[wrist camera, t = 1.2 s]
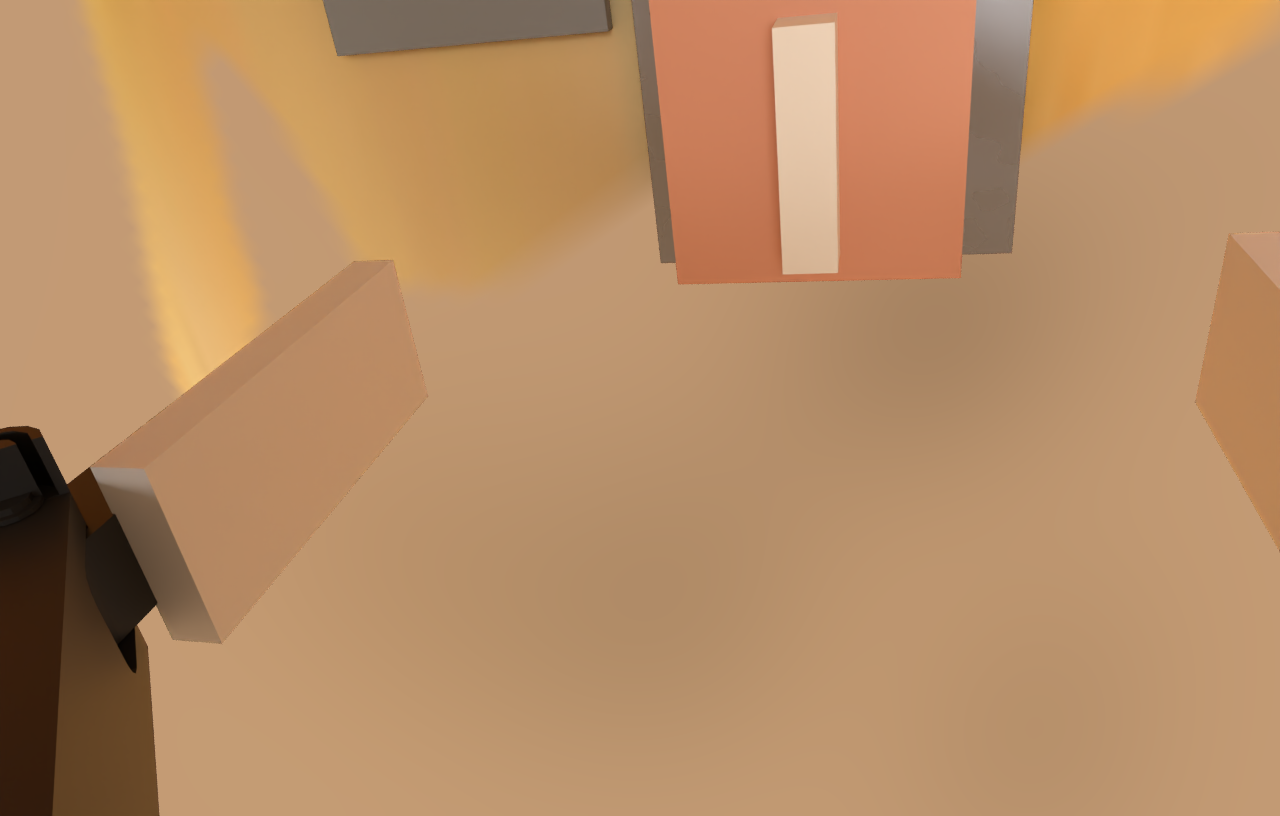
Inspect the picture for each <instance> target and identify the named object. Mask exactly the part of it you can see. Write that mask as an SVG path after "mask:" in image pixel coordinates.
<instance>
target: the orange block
mask: <svg viewBox="0 0 1280 816" xmlns="http://www.w3.org/2000/svg"><path fill="white" fill-rule="evenodd" d="M649 9H650V18H651V28H652V38H653V47H654V57H655V66H656V76H657V86H658V95H659V105H660V115H661V124H662V134H663V143H664V153H665V163H666V172H667V182H668V192H669V201H670V211H671V220H672V230H673V240H674V249H675V259H676V269H677V278H678V284H709V283H710V284H711V283H712V284H713V283H754V282H755V283H757V282H795V281H796V282H801V281H842V280H843V281H844V280H887V279H930V278H931V279H932V278H960V277H961V263H962V245H963V228H964V210H965V193H966V175H967V158H968V140H969V123H970V105H971V88H972V70H973V53H974V35H975V18H976V0H649Z"/></svg>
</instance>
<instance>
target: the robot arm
mask: <svg viewBox="0 0 1280 816" xmlns="http://www.w3.org/2000/svg"><path fill="white" fill-rule="evenodd" d="M427 397H428V394H427V391H426V387H425V383H424V379H423V375H422V371H421V367H420V364H419V360H418V355H417V352H416V348H415V344H414V340H413V336H412V333H411V328H410V324H409V321H408V317H407V313H406V309H405V306H404V301H403V297H402V293H401V290H400V286H399V282H398V278H397V274H396V270H395V266H394V262H393V260H380V261H354V262H353V263H351V264H350V265H349V266H347V267H346V268H345V269H344V270H342V271H341V272H340V273H339V274H337V275H336V276H335V277H333V278H332V279H331V280H330V281H328V282H327V283H326V284H324V285H323V286H322V287H321V288H319V289H318V290H317V291H315V292H314V293H313V294H312V295H310V296H309V297H308V298H306V299H305V300H304V301H302V302H301V303H300V304H299V305H297V306H296V307H295V308H293V309H292V310H291V311H290V312H288V313H287V314H286V315H285V316H283V317H282V318H281V319H279V320H278V321H277V322H276V323H274V324H273V325H272V326H270V327H269V328H268V329H267V330H265V331H264V332H263V333H261V334H260V335H259V336H258V337H256V338H255V339H254V340H252V341H251V342H250V343H249V344H247V345H246V346H245V347H243V348H242V349H241V350H240V351H238V352H237V353H236V354H234V355H233V356H232V357H231V358H229V359H228V360H227V361H225V362H224V363H223V364H222V365H220V366H219V367H218V368H216V369H215V370H214V371H213V372H211V373H210V374H209V375H207V376H206V377H205V378H204V379H202V380H201V381H200V382H198V383H197V384H196V385H195V386H193V387H192V388H191V389H189V390H188V391H187V392H186V393H184V394H183V395H182V396H180V397H179V398H178V399H177V400H175V401H174V402H173V403H171V404H170V405H169V406H167V407H166V408H165V409H164V410H162V411H161V412H160V413H158V414H157V415H156V416H154V417H153V418H152V419H151V420H149V421H148V422H147V423H146V424H145V425H143V426H142V427H140V428H139V429H138V430H137V431H135V432H134V433H133V434H131V435H130V436H129V437H128V438H126V440H124V441H123V442H121V443H120V444H119V445H117V446H116V447H115V448H113V449H112V450H111V451H109V452H108V453H107V454H106V455H105V456H103V457H102V458H100V459H99V460H98V461H97V462H96V463H94V464H93V465H92V466H90V467H89V468H88V469H86V470H85V471H84V472H82V473H81V474H80V475H79V476H77V477H76V478H75V479H74V480H72V481H71V482H70V483H69V484H66V482H65V480H64V478H63V476H62V474H61V472H60V470H59V468H58V466H57V464H56V462H55V460H54V458H53V456H52V454H51V452H50V450H49V448H48V446H47V444H46V442H45V440H44V438H43V436H42V434H41V432H40V430H39V429H36V428H32V427H29V426H21V427H20V426H19V427H7V428H3V429H0V816H159V804H158V789H157V774H156V760H155V745H154V730H153V716H152V701H151V687H150V672H149V657H148V646H147V644H146V642H145V640H144V638H143V636H142V634H141V632H140V630H139V628H138V626H137V624H138V623H139V622H140V621H141V620H142V619H143V618H144V617H145V616H146V615H147V614H148V613H149V612H150V611H151V610H152V608H153V607H155V605H156V606H157V608H158V610H159V612H160V614H161V616H162V618H163V621H164V623H165V625H166V627H167V629H168V631H169V633H170V635H171V637H172V639H173V640H182V641H194V642H206V643H218V644H222V643H223V642H224V641H225V640H226V638H227V637H228V636H229V635H230V634H231V632H232V631H233V630H234V629H235V628H236V626H237V625H238V624H239V623H240V621H241V620H242V619H243V618H244V617H245V616H246V614H247V613H248V612H249V611H250V610H251V608H252V607H253V606H254V605H255V604H256V602H257V601H258V600H259V599H260V598H261V596H262V595H263V594H264V593H265V592H266V590H267V589H268V588H269V587H270V586H271V584H272V583H273V582H274V581H275V580H276V578H277V577H278V576H279V575H280V574H281V572H282V571H283V570H284V569H285V568H286V566H287V565H288V564H289V563H290V562H291V560H292V559H293V558H294V557H295V556H296V554H297V553H298V552H299V551H300V550H301V548H302V547H303V546H304V545H305V544H306V542H307V541H308V540H309V539H310V538H311V536H312V535H313V534H314V533H315V532H316V530H317V529H318V528H319V527H320V526H321V524H322V523H323V522H324V521H325V520H326V518H327V517H328V516H329V515H330V513H331V512H332V511H333V510H334V509H335V508H336V506H337V505H338V504H339V502H340V501H341V500H342V499H343V498H344V497H345V495H346V494H347V493H348V492H349V491H350V489H351V488H352V487H353V486H354V484H356V482H357V481H358V480H359V479H360V477H361V476H362V475H363V474H364V473H365V471H366V470H367V469H368V468H369V467H370V465H371V464H372V463H373V462H374V461H375V459H376V458H377V457H378V456H379V455H380V453H381V452H382V451H383V450H384V449H385V447H386V446H387V445H388V444H389V443H390V441H391V440H392V439H393V437H395V435H396V434H397V433H398V432H399V431H400V429H401V428H402V427H403V426H404V425H405V423H406V422H407V421H408V420H409V419H410V417H411V416H412V415H413V414H414V413H415V411H416V410H417V409H418V408H419V407H420V405H421V404H422V403H423V402H424V401H425V399H426V398H427ZM1195 403H1196V405H1197V406H1198V408H1199V410H1200V412H1201V413H1202V415H1203V417H1204V419H1205V420H1206V422H1207V424H1208V426H1209V427H1210V429H1211V431H1212V433H1213V435H1214V436H1215V438H1216V440H1217V442H1218V444H1219V445H1220V447H1221V449H1222V451H1223V452H1224V454H1225V456H1226V458H1227V459H1228V461H1229V463H1230V465H1231V467H1232V468H1233V470H1234V472H1235V473H1236V475H1237V477H1238V478H1239V481H1240V482H1241V484H1242V486H1243V488H1244V489H1245V491H1246V493H1247V495H1248V496H1249V498H1250V500H1251V502H1252V504H1253V505H1254V507H1255V509H1256V511H1257V513H1258V514H1259V516H1260V518H1261V520H1262V521H1263V523H1264V525H1265V527H1266V528H1267V530H1268V532H1269V534H1270V536H1271V537H1272V539H1273V541H1274V543H1275V544H1276V546H1277V548H1278V550H1279V551H1280V232H1256V233H1229V236H1228V241H1227V246H1226V251H1225V256H1224V261H1223V266H1222V271H1221V276H1220V281H1219V285H1218V290H1217V295H1216V300H1215V306H1214V311H1213V315H1212V321H1211V325H1210V331H1209V335H1208V341H1207V345H1206V351H1205V356H1204V361H1203V365H1202V370H1201V375H1200V380H1199V385H1198V390H1197V395H1196V400H1195Z"/></svg>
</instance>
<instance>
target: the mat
mask: <svg viewBox="0 0 1280 816" xmlns="http://www.w3.org/2000/svg"><path fill="white" fill-rule="evenodd" d="M323 3H324V7H325V10H326V14H327V18H328V22H329V25H330V29H331V33H332V37H333V41H334V44H335V48H336V52H337V56H345V55H356V54H367V53H378V52H389V51H399V50H410V49H421V48H432V47H443V46H453V45H464V44H475V43H486V42H497V41H507V40H518V39H529V38H540V37H551V36H561V35H572V34H583V33H594V32H605V31H609V30H611V29H612V20H611V12H610V3H609V0H323Z"/></svg>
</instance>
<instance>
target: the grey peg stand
mask: <svg viewBox="0 0 1280 816" xmlns="http://www.w3.org/2000/svg"><path fill="white" fill-rule="evenodd" d="M631 1H632V9H633V18H634V27H635V36H636V45H637V54H638V63H639V72H640V81H641V90H642V99H643V107H644V116H645V125H646V134H647V143H648V152H649V161H650V170H651V179H652V188H653V197H654V205H655V213H656V223H657V232H658V241H659V250H660V259H661V263H676V259H675V249H674V240H673V230H672V220H671V211H670V201H669V192H668V182H667V172H666V163H665V153H664V143H663V134H662V124H661V115H660V105H659V95H658V86H657V76H656V66H655V57H654V47H653V38H652V28H651V18H650V9H649V0H631ZM1032 9H1033V0H976V18H975V35H974V53H973V70H972V88H971V105H970V123H969V140H968V158H967V175H966V193H965V210H964V228H963V245H962V254H997V253H1012V245H1013V233H1014V220H1015V209H1016V197H1017V185H1018V174H1019V162H1020V151H1021V139H1022V127H1023V115H1024V103H1025V92H1026V80H1027V68H1028V56H1029V45H1030V33H1031V21H1032Z"/></svg>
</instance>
